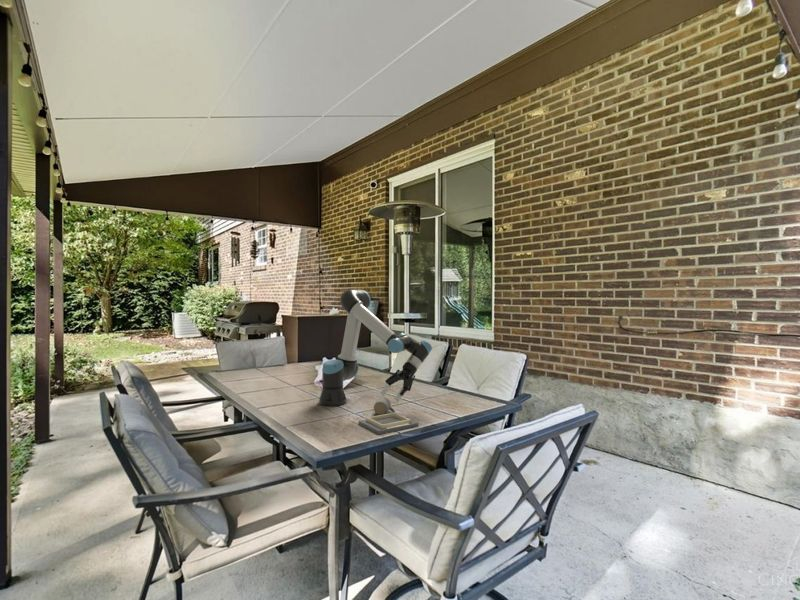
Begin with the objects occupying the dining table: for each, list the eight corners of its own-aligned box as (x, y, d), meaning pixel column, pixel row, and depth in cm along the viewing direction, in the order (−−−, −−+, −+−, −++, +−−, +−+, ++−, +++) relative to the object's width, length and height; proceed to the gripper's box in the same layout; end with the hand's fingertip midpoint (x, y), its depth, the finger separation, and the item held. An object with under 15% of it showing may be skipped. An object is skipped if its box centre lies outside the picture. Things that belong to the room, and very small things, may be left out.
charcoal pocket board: (358, 424, 201) (358, 417, 201) (396, 416, 213) (396, 410, 213) (378, 434, 186) (378, 427, 186) (418, 426, 198) (418, 419, 198)
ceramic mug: (372, 415, 215) (373, 400, 215) (376, 410, 223) (376, 396, 223) (393, 416, 213) (393, 401, 213) (396, 412, 221) (396, 397, 221)
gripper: (430, 373, 220) (406, 406, 211) (402, 366, 240) (379, 396, 231) (422, 364, 216) (398, 397, 208) (394, 358, 237) (371, 388, 228)
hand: (388, 397), depth 220 cm, fingers open, 13 cm apart
